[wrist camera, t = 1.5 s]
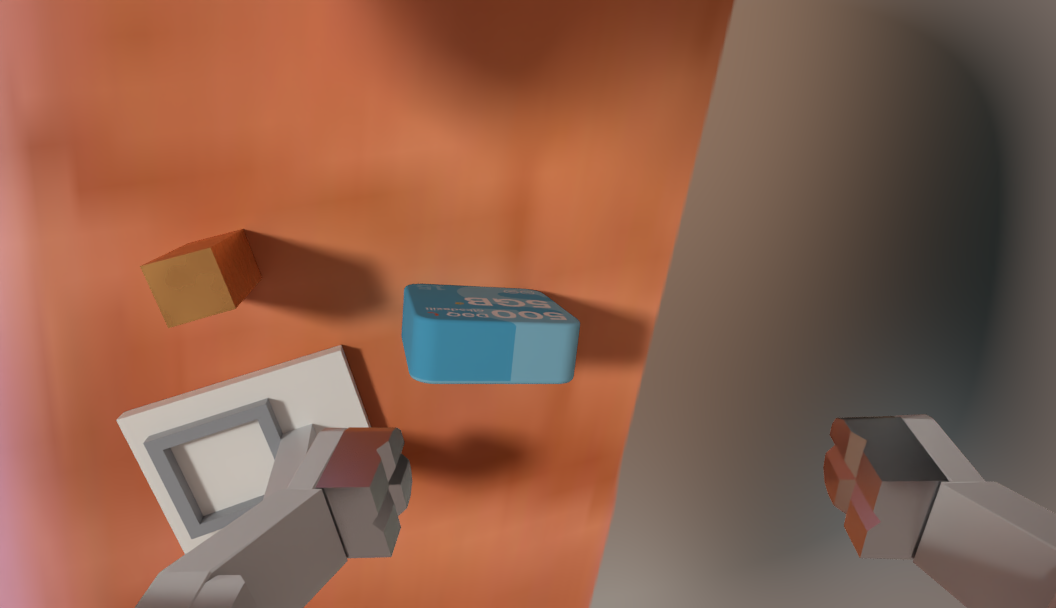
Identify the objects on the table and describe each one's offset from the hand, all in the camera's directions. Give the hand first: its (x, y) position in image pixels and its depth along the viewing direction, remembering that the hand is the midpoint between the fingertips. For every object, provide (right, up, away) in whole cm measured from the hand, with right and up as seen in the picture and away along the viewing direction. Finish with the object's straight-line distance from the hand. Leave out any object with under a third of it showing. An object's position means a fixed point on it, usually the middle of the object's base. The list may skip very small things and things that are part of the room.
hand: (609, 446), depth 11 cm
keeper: (-24, -9, +37) cm, 45 cm away
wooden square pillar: (-25, +6, +33) cm, 42 cm away
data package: (-7, +2, +40) cm, 40 cm away
